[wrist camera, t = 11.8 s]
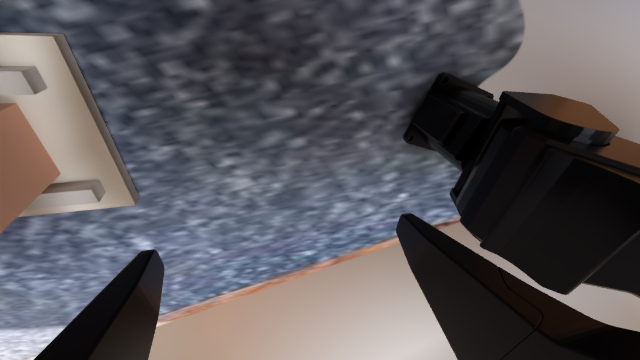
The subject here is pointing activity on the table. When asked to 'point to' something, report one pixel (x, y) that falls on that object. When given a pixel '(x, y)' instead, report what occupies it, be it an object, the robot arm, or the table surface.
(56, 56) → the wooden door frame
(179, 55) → the table surface
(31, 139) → the block
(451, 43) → the table surface
